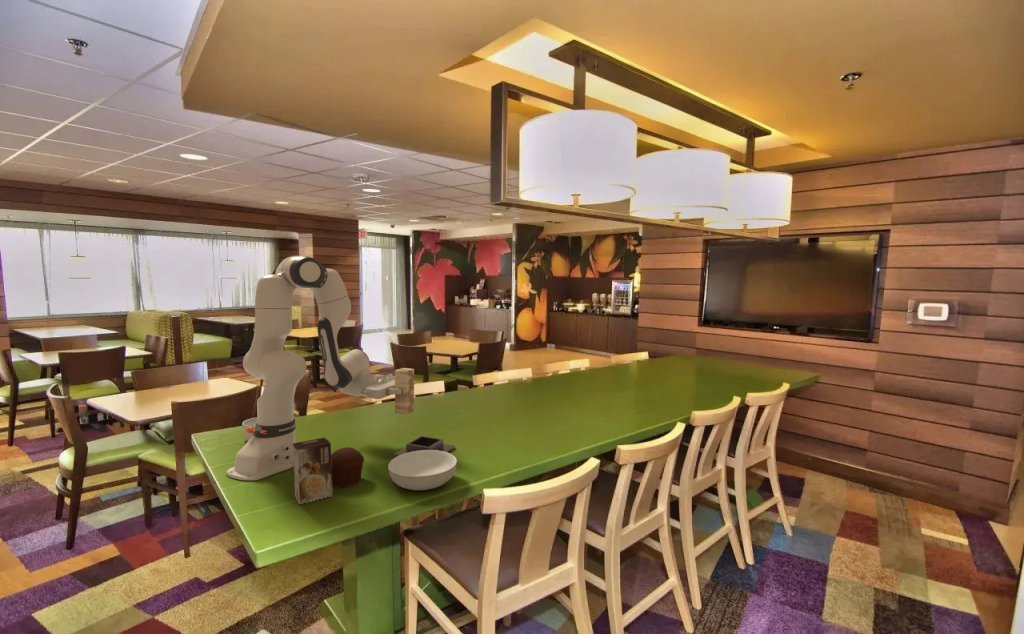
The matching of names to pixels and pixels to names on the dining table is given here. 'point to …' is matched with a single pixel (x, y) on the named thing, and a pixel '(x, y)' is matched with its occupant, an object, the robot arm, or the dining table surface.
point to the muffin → (346, 466)
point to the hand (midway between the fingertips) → (406, 389)
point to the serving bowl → (422, 469)
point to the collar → (425, 445)
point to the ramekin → (249, 423)
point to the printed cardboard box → (312, 470)
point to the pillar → (404, 391)
